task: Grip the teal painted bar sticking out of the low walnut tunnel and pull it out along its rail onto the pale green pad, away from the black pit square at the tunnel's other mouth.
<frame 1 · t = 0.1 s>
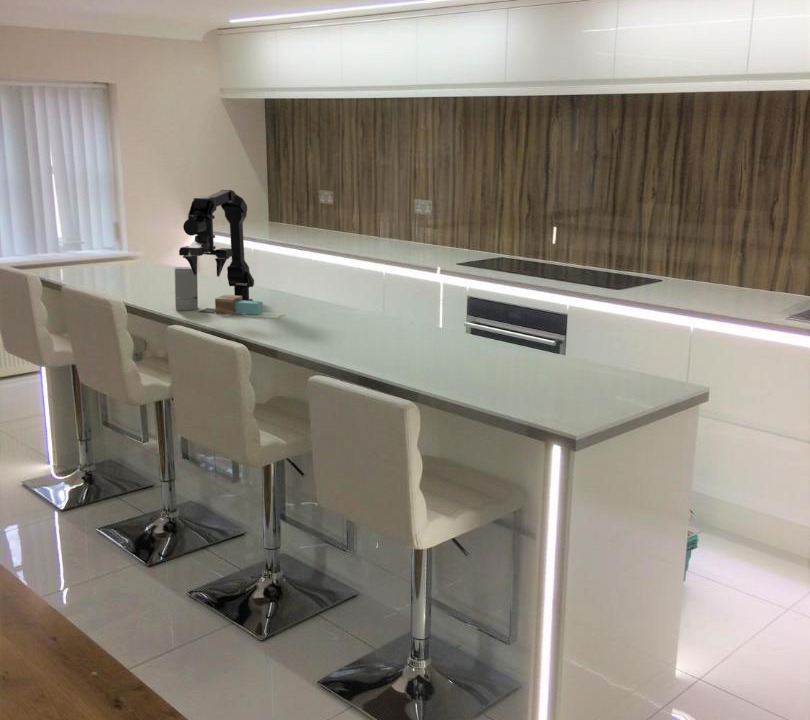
hand: (206, 275, 324), 15 cm above the table, fingers open, 9 cm apart
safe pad: (264, 315, 329), on the table
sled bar: (242, 306, 331), point 3 cm above the table, slide at 5.5 cm
tunnel: (229, 312, 333), on the table
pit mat: (209, 311, 335), on the table
skincare box: (187, 309, 339), on the table
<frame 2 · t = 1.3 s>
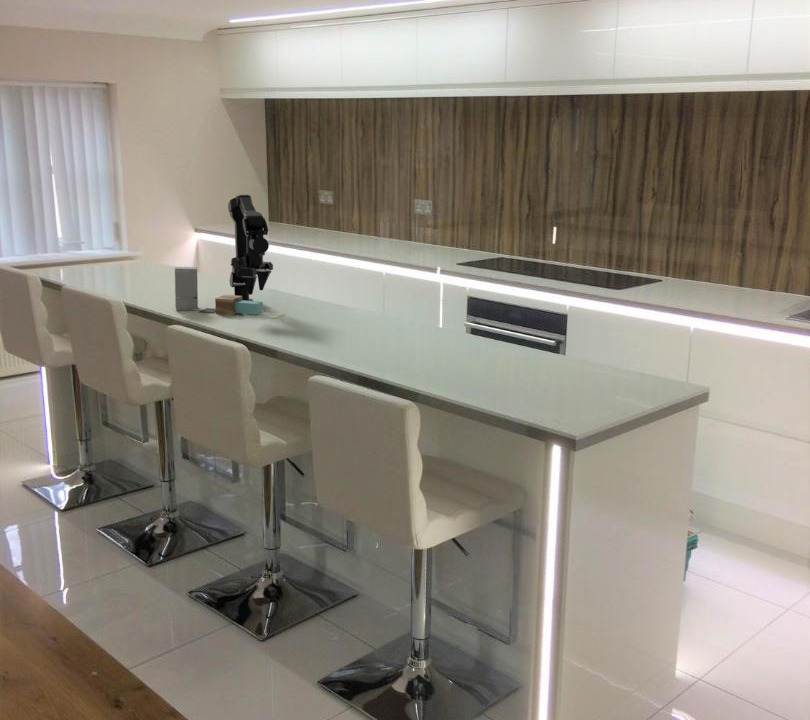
hand: (255, 292, 328), 8 cm above the table, fingers open, 9 cm apart
nothing on the table moved.
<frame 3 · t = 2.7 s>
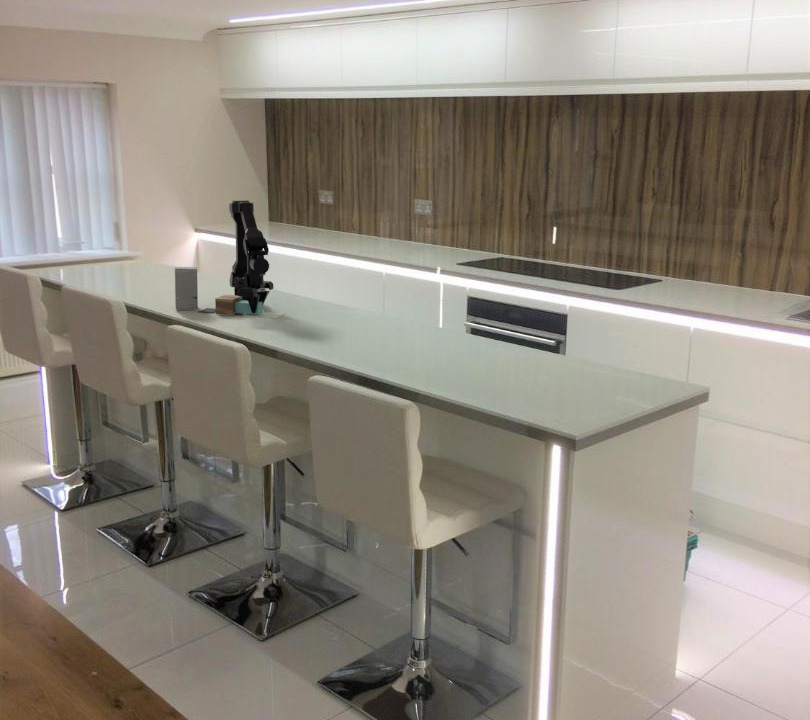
hand: (256, 311, 330), 1 cm above the table, fingers closed on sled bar, 4 cm apart
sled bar: (242, 306, 331), point 3 cm above the table, slide at 5.5 cm, touching gripper
everything else where it was.
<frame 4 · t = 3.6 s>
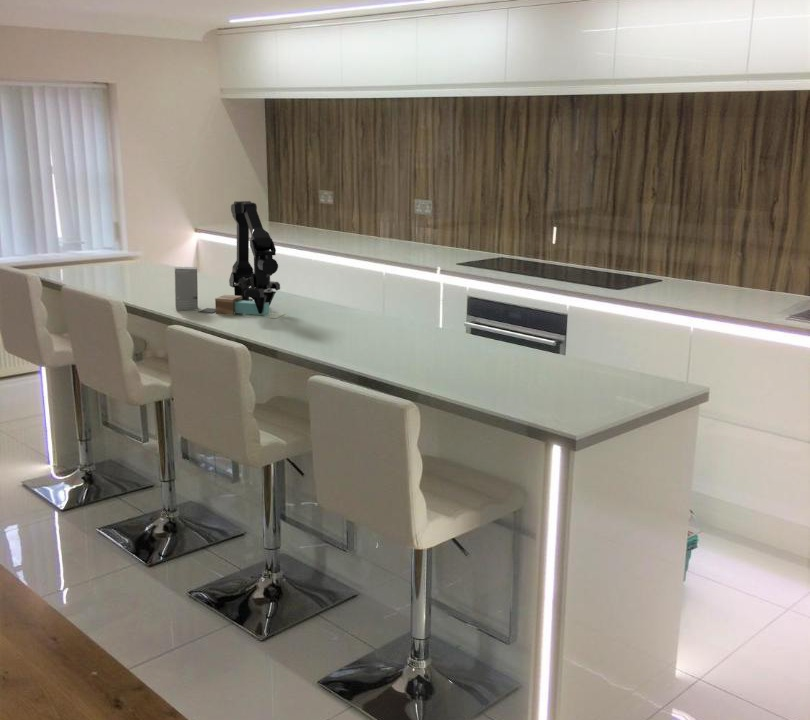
hand: (263, 312, 329), 1 cm above the table, fingers closed on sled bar, 4 cm apart
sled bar: (249, 307, 330), point 3 cm above the table, slide at 8.1 cm, touching gripper
everything else where it was.
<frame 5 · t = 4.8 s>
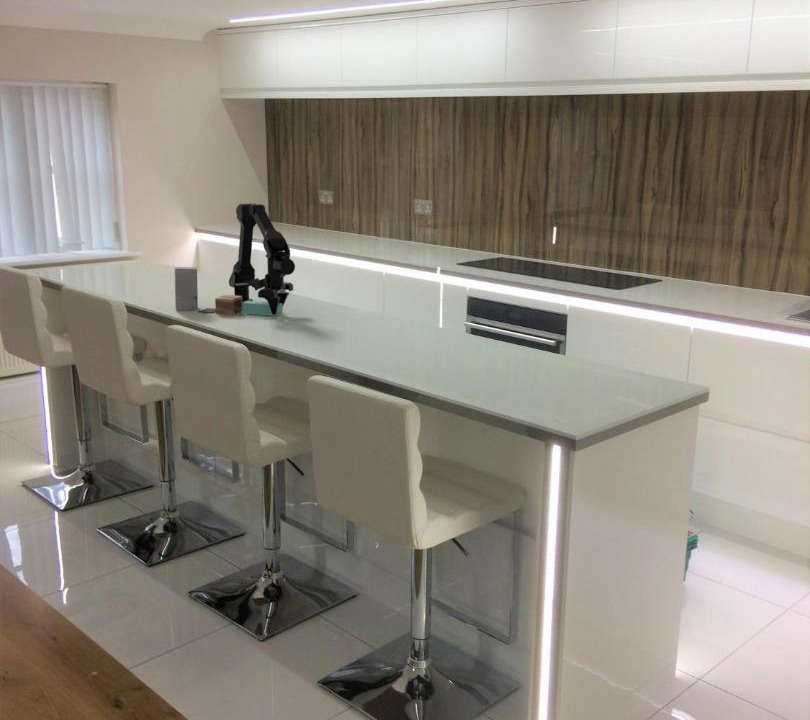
hand: (276, 313, 328), 1 cm above the table, fingers closed on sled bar, 4 cm apart
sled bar: (262, 308, 329), point 3 cm above the table, slide at 13.5 cm, touching gripper
everything else where it was.
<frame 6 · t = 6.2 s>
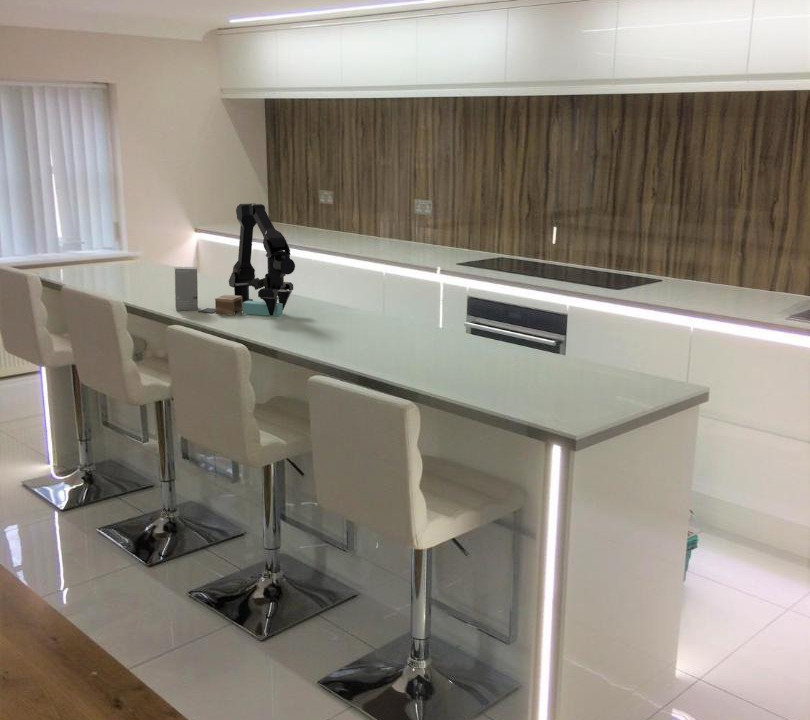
hand: (276, 312, 328), 1 cm above the table, fingers open, 9 cm apart
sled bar: (262, 308, 329), point 3 cm above the table, slide at 13.5 cm
everything else where it was.
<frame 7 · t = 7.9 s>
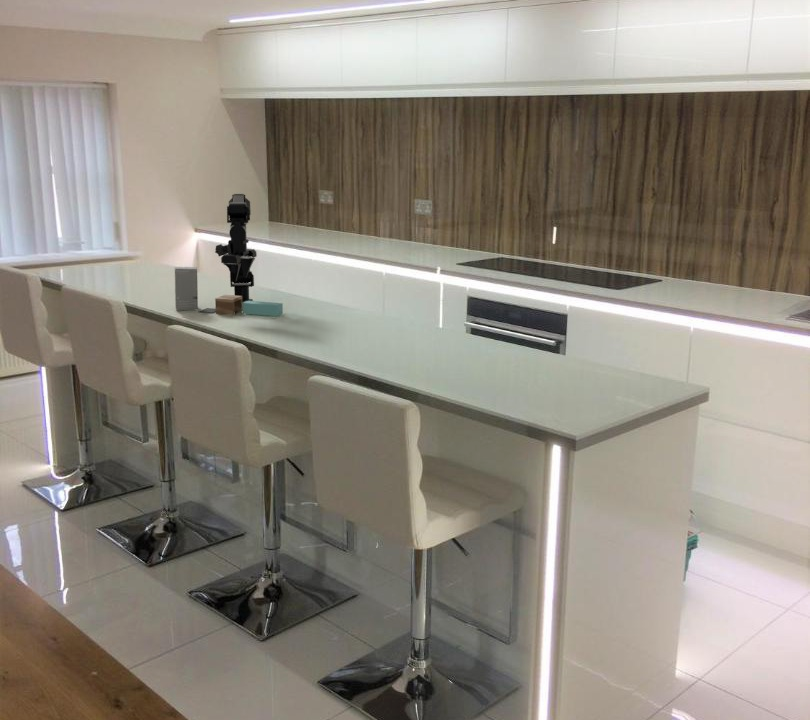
hand: (239, 279, 335), 12 cm above the table, fingers open, 9 cm apart
nothing on the table moved.
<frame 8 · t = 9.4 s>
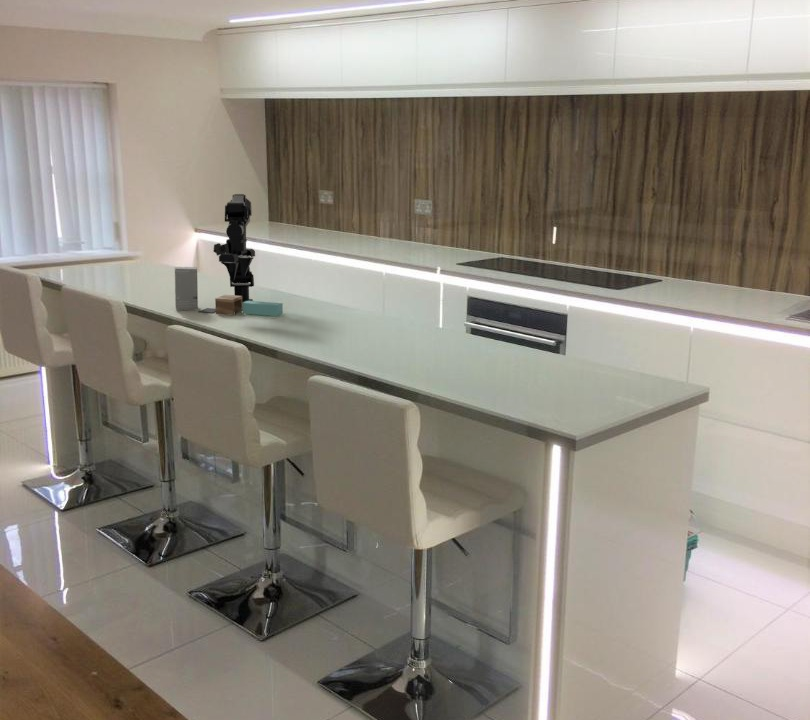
hand: (238, 278, 335), 12 cm above the table, fingers open, 9 cm apart
nothing on the table moved.
at the end: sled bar slide at 13.5 cm; the gripper is holding nothing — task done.
